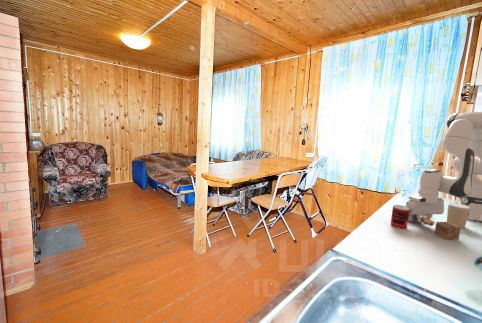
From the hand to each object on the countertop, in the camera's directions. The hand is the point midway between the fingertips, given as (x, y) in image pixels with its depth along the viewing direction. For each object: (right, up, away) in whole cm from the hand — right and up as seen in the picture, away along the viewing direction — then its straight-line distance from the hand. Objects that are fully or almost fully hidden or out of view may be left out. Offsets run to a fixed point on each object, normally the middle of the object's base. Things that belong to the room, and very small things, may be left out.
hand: (423, 221), depth 129 cm
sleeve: (-1, -2, +7) cm, 7 cm away
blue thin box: (+13, 0, +22) cm, 25 cm away
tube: (0, -1, +3) cm, 3 cm away
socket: (+1, -5, -13) cm, 14 cm away
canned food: (-15, -2, -1) cm, 15 cm away
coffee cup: (+21, -3, +3) cm, 21 cm away
